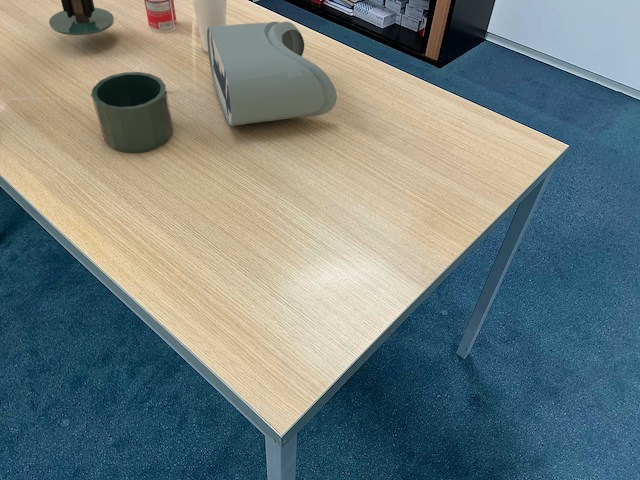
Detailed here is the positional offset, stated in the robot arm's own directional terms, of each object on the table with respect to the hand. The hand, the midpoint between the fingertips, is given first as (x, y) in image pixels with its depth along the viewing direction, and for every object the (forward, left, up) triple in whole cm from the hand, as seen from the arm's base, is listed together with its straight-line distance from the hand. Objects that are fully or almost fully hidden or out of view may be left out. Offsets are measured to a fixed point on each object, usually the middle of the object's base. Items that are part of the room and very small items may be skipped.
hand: (80, 14), depth 112 cm
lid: (0, 0, -2) cm, 2 cm away
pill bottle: (+15, +6, -7) cm, 18 cm away
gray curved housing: (+36, -26, -7) cm, 45 cm away
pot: (+12, -34, -7) cm, 37 cm away
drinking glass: (+26, -4, -7) cm, 28 cm away
